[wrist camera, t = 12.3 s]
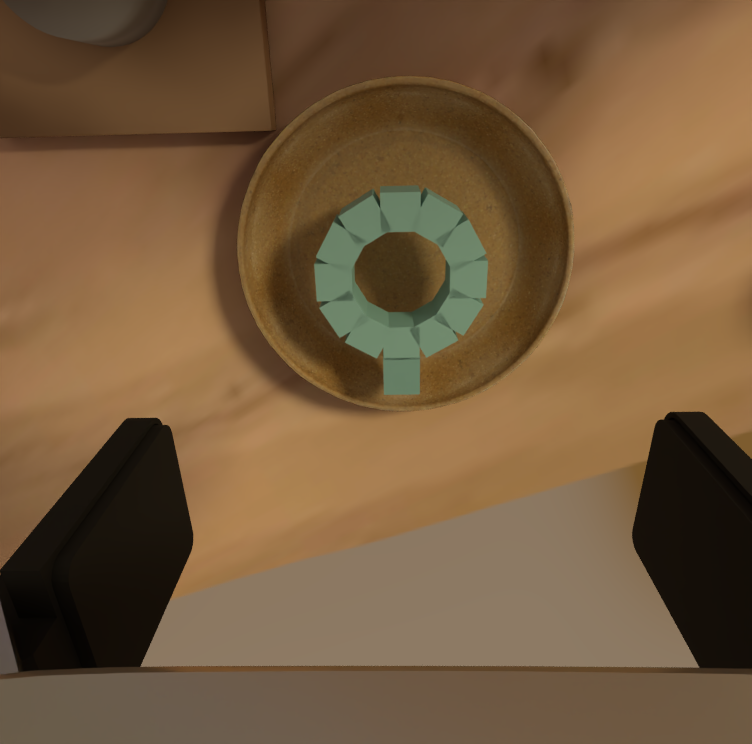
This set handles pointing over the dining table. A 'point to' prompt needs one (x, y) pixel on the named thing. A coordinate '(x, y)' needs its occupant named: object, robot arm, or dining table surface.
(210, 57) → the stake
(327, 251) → the ring
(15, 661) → the robot arm
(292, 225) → the plant saucer
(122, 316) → the dining table surface
